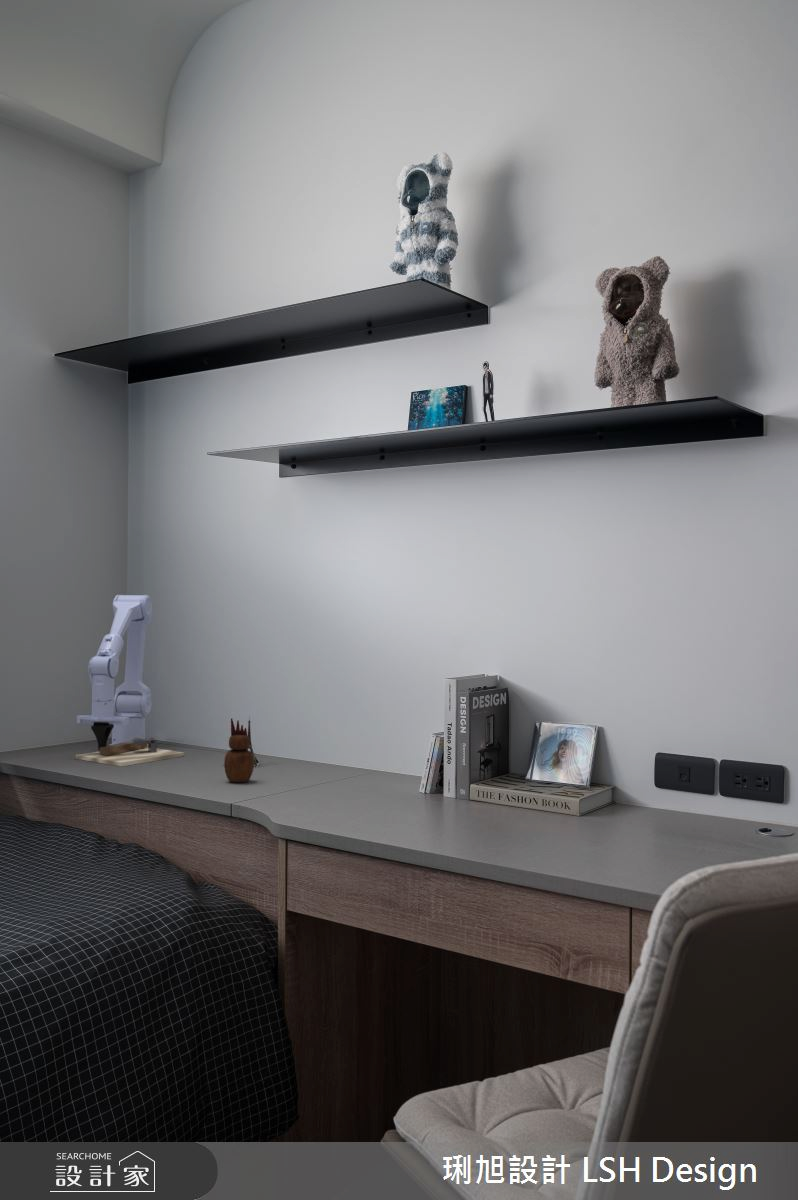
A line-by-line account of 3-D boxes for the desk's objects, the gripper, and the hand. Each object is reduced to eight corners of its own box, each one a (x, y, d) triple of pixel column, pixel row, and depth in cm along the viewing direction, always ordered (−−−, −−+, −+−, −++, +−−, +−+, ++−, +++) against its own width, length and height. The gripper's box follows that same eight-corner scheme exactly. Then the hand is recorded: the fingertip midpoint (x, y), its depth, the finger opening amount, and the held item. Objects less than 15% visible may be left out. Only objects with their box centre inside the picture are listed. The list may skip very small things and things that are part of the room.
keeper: (131, 751, 265) (132, 739, 265) (154, 750, 267) (154, 738, 267) (134, 753, 261) (134, 741, 261) (156, 752, 264) (156, 740, 264)
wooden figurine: (220, 782, 226) (220, 719, 226) (231, 778, 232) (232, 716, 232) (246, 784, 224) (247, 720, 224) (257, 780, 230) (257, 717, 230)
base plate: (75, 758, 258) (75, 754, 258) (139, 749, 275) (139, 745, 275) (121, 766, 247) (121, 762, 247) (184, 756, 264) (184, 752, 264)
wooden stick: (138, 746, 272) (138, 735, 272) (147, 747, 271) (147, 736, 271) (99, 754, 258) (99, 743, 258) (108, 755, 256) (108, 744, 256)
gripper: (70, 700, 257) (70, 751, 257) (119, 702, 254) (118, 754, 254) (85, 698, 264) (84, 747, 264) (133, 700, 261) (132, 750, 261)
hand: (102, 750), depth 260 cm, fingers closed, pressing on wooden stick
